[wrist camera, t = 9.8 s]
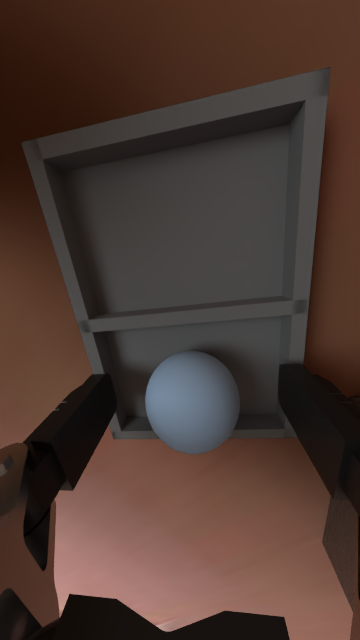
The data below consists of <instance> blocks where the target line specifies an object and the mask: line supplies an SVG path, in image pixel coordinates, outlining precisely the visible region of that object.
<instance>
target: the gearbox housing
mask: <svg viewBox="0 0 360 640" xmlns="http://www.w3.org/2000/svg"><path fill="white" fill-rule="evenodd" d="M350 400H351V403H354V404H355V405H356V406H357V407H358V408H360V397H350ZM356 513H357V512H356V510H355V509H354V507H353V506H352V504H351V503H350V501H349V500H333V498H332V496H331V501H330V506H329V511H328V516H327V522H326V527H325V532H324V537H323V542H322V543H323V545H324V547H325V550H326V552H327V554H328V557H329V559H330V561H331V563H332V566H333V568H334V570H335V572H336V575H337V577H338V579H339V581H340V584H341V586H342V588H343V591H344V593H345V595H346V597H347V600H348V602H349V604H350V606H351V609H352V611H353V609H354V569H355V517H356Z"/></svg>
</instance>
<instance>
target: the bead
mask: <svg viewBox="0 0 360 640" xmlns="http://www.w3.org/2000/svg"><path fill="white" fill-rule="evenodd" d="M145 405H146V413H147V416H148V420H149V422H150V424H151V427H152V429H153V430H154V432H155V433H156V435H157V436H158V437H159V438H160V439H161V440H162V441H163V442H164V443H165V444H166V445H168V446H169V447H171V448H172V449H174V450H176V451H179V452H182V453H187V454H201V453H206V452H208V451H211V450H213V449H215V448H217V447H218V446H220V445H221V444H222V443H223V442H224V441H225V440H227V438H228V437H229V436H230V434H231V433H232V431H233V430H234V428H235V425H236V423H237V420H238V416H239V411H240V397H239V391H238V387H237V384H236V382H235V380H234V378H233V376H232V374H231V373H230V371H229V370H228V369H227V367H226V366H225V365H224V364H223V363H221V362H220V361H219V360H218V359H216V358H215V357H213V356H211V355H209V354H206V353H203V352H199V351H184V352H180V353H177V354H174V355H172V356H170V357H168V358H167V359H166V360H164V361H163V362H162V363H161V364H160V365H159V366H158V367H157V368H156V369H155V371H154V372H153V374H152V376H151V378H150V380H149V383H148V386H147V390H146V397H145Z"/></svg>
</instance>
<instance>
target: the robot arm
mask: <svg viewBox="0 0 360 640" xmlns="http://www.w3.org/2000/svg"><path fill="white" fill-rule="evenodd" d="M278 399H279V403H280V406H281V408H282V410H283V412H284V414H285V415H286V417H287V419H288V421H289V422H290V424H291V426H292V428H293V430H294V431H295V433H296V435H297V437H298V438H299V440H300V442H301V444H302V445H303V447H304V449H305V451H306V452H307V454H308V456H309V458H310V459H311V461H312V463H313V465H314V466H315V468H316V470H317V472H318V474H319V475H320V477H321V479H322V481H323V482H324V484H325V486H326V488H327V489H328V491H329V493H330V495H331V496H332V498H333V500H349V501H350V503H351V504H352V506H353V507H354V509H355V510H356V512H357V513H356V517H355V569H354V609H353V619H352V626H351V635H350V640H360V408H358V407H357V406H356V405H355V404H354V403H351V400H350V399H349V398H347V397H346V396H345V395H344V394H342V393H341V391H340V390H339V389H338V388H337V387H335V386H334V385H333V384H332V383H331V382H329V381H328V380H326V379H324V378H322V377H320V376H318V375H317V374H316V375H312V374H311V373H310V372H309V371H308V370H307V369H306V368H305V367H304V366H303V365H302V364H300V363H294V364H281V365H280V366H279V376H278ZM116 409H117V397H116V393H115V390H114V386H113V383H112V379H111V376H110V375H109V374H93V375H91V376H90V377H89V378H88V379H87V380H86V381H85V382H84V383H83V384H82V385H81V386H80V387H78V388H77V389H75V390H74V391H72V392H71V393H70V394H69V395H68V396H67V397H66V398H65V399H64V400H63V401H62V403H60V404H59V405H58V406H57V407H56V408H55V411H53V412H52V413H51V414H50V415H49V416H48V417H47V418H46V419H45V420H44V421H43V422H42V423H41V424H40V425H39V426H38V427H37V428H36V429H35V430H34V431H33V432H32V434H31V435H30V436H29V437H28V438H27V439H26V440H25V441H24V442H23V443H16V444H12V445H9V446H6V447H4V448H2V449H0V640H290V639H289V635H288V631H287V627H286V623H285V618H284V617H279V616H269V615H260V614H251V613H241V612H232V611H223V612H221V613H218V614H216V615H213V616H211V617H208V618H205V619H203V620H200V621H198V622H195V623H192V624H190V625H187V626H185V627H182V628H180V629H177V630H174V631H171V632H165V631H163V630H161V629H159V628H158V627H156V626H155V625H153V624H152V623H150V622H149V621H148V620H146V619H145V618H143V617H142V616H140V615H139V614H137V613H136V612H135V611H133V610H132V609H130V608H129V607H127V606H126V605H124V604H123V603H122V602H120V601H119V600H117V599H111V598H102V597H93V596H83V595H74V594H69V597H68V599H67V602H66V605H65V607H64V610H63V612H62V615H61V617H60V618H59V605H58V598H57V593H56V589H55V583H54V550H55V523H56V502H55V500H54V499H55V497H56V495H57V494H58V492H59V490H71V491H73V490H74V488H75V486H76V484H77V482H78V480H79V479H80V477H81V475H82V473H83V471H84V469H85V468H86V466H87V464H88V462H89V460H90V458H91V456H92V455H93V453H94V451H95V449H96V447H97V445H98V443H99V442H100V440H101V438H102V436H103V434H104V432H105V430H106V429H107V427H108V425H109V423H110V421H111V419H112V418H113V416H114V414H115V412H116Z"/></svg>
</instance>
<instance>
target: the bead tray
mask: <svg viewBox="0 0 360 640" xmlns="http://www.w3.org/2000/svg"><path fill="white" fill-rule="evenodd" d="M329 76H330V67H328V68H324V69H320V70H316V71H312V72H307V73H303V74H299V75H295V76H291V77H287V78H283V79H279V80H275V81H271V82H266V83H262V84H258V85H254V86H250V87H246V88H242V89H238V90H234V91H230V92H225V93H221V94H217V95H213V96H209V97H205V98H201V99H197V100H193V101H188V102H184V103H180V104H176V105H172V106H168V107H164V108H160V109H156V110H152V111H147V112H143V113H139V114H135V115H131V116H127V117H123V118H119V119H115V120H110V121H106V122H102V123H98V124H94V125H90V126H86V127H82V128H78V129H74V130H69V131H65V132H61V133H57V134H53V135H49V136H45V137H41V138H37V139H33V140H28V141H24V142H21V144H22V147H23V150H24V153H25V156H26V160H27V163H28V166H29V169H30V172H31V176H32V179H33V182H34V185H35V189H36V192H37V195H38V198H39V201H40V205H41V208H42V211H43V214H44V217H45V221H46V224H47V227H48V230H49V233H50V237H51V240H52V243H53V246H54V249H55V253H56V256H57V259H58V262H59V266H60V269H61V272H62V275H63V278H64V282H65V285H66V288H67V291H68V294H69V298H70V301H71V304H72V307H73V310H74V314H75V317H76V320H77V323H78V326H79V330H80V333H81V336H82V339H83V342H84V346H85V349H86V352H87V355H88V359H89V362H90V365H91V368H92V371H93V374H109V375H110V376H111V379H112V383H113V386H114V390H115V393H116V397H117V409H116V412H115V414H114V416H113V418H112V419H111V421H110V423H109V426H110V429H111V432H112V435H113V439H160V438H159V437H158V436H157V435H156V433H155V432H154V430H153V429H152V427H151V424H150V422H149V420H148V416H147V413H146V405H145V397H146V390H147V386H148V383H149V380H150V378H151V376H152V374H153V372H154V371H155V369H156V368H157V367H158V366H159V365H160V364H161V363H162V362H163V361H164V360H166V359H167V358H168V357H170V356H172V355H174V354H177V353H180V352H184V351H199V352H203V353H206V354H209V355H211V356H213V357H215V358H216V359H218V360H219V361H220V362H221V363H223V364H224V365H225V366H226V367H227V369H228V370H229V371H230V373H231V374H232V376H233V378H234V380H235V382H236V384H237V387H238V391H239V397H240V411H239V416H238V420H237V423H236V425H235V428H234V430H233V431H232V433H231V434H230V436H229V437H228V438H297V435H296V433H295V431H294V430H293V428H292V426H291V424H290V422H289V421H288V419H287V417H286V415H285V414H284V412H283V410H282V408H281V406H280V403H279V399H278V376H279V366H280V365H281V364H294V363H300V364H302V365H303V363H304V352H305V341H306V330H307V319H308V308H309V297H310V286H311V275H312V264H313V253H314V242H315V231H316V220H317V209H318V197H319V186H320V175H321V164H322V153H323V142H324V131H325V120H326V109H327V98H328V87H329Z"/></svg>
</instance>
